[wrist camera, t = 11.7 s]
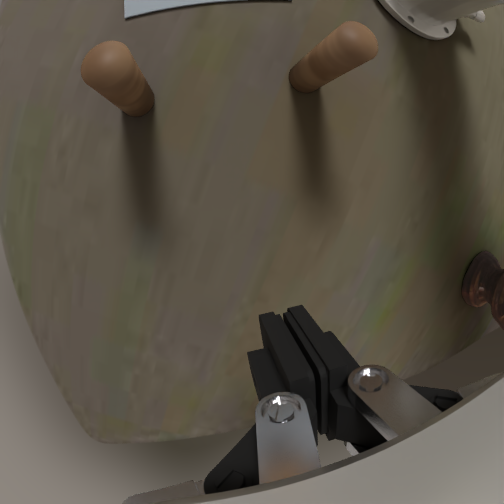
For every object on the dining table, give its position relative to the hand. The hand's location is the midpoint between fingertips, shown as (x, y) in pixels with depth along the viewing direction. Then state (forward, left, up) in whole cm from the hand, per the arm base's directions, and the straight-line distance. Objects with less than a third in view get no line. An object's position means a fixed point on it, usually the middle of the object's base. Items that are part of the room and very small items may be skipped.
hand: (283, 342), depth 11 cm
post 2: (-8, -13, -13) cm, 20 cm away
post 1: (+5, -13, -13) cm, 20 cm away
